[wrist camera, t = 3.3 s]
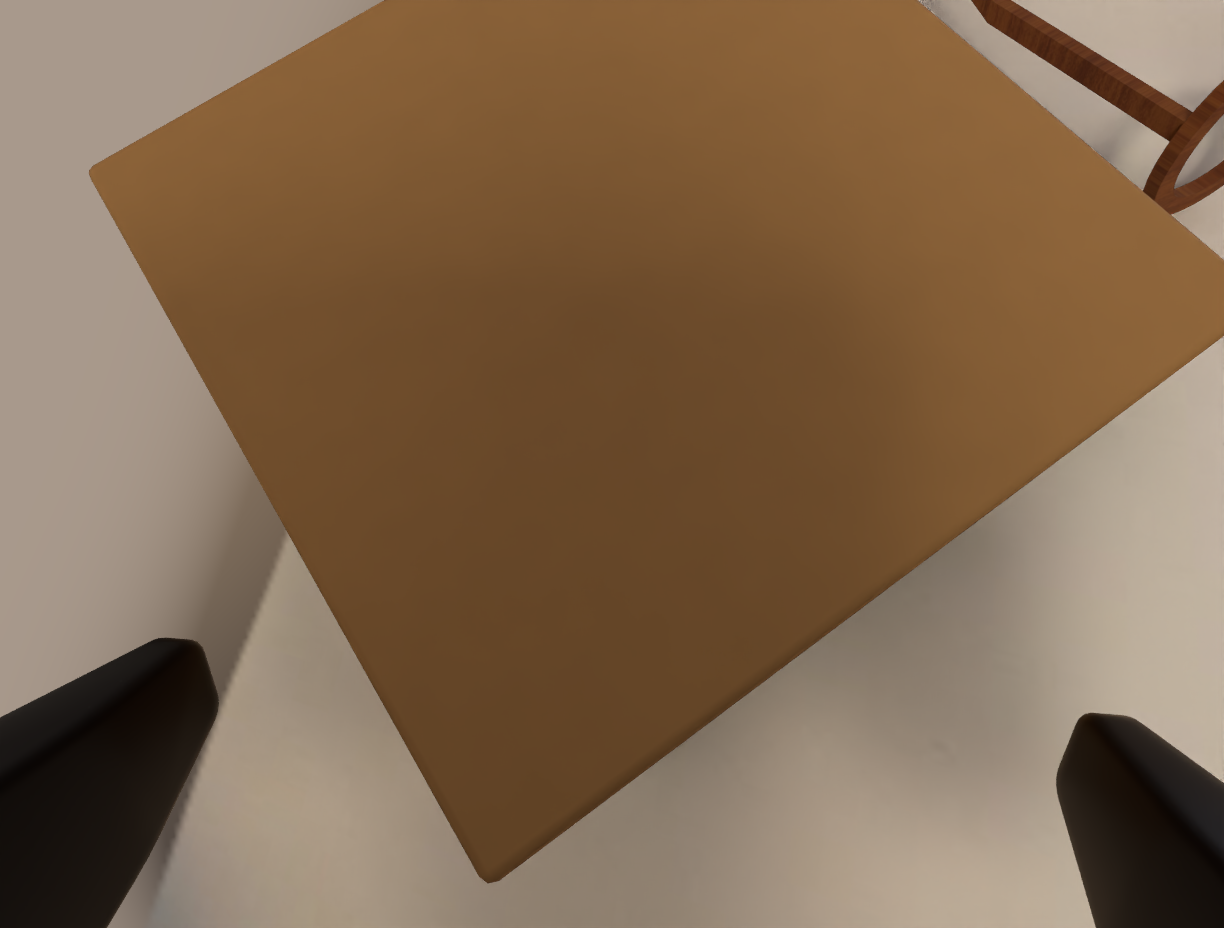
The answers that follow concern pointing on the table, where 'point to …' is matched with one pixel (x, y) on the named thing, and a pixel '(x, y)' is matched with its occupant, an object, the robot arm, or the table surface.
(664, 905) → the table surface
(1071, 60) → the glasses
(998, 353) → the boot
